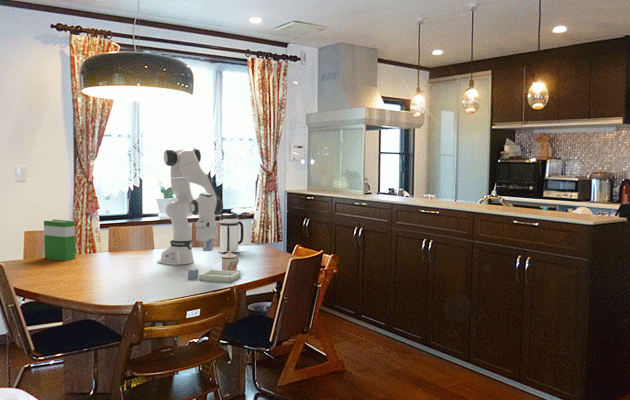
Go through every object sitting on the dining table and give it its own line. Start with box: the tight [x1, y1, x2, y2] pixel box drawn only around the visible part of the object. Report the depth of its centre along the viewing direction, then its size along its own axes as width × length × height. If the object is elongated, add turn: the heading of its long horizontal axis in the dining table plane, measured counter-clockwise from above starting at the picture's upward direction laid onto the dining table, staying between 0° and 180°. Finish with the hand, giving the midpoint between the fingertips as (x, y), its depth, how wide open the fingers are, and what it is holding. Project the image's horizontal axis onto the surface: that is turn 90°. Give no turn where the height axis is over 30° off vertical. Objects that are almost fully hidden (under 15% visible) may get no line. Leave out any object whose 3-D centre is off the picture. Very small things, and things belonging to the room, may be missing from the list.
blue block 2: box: [202, 240, 214, 252], centre depth 302 cm, size 4×4×5 cm
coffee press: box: [217, 209, 244, 254], centre depth 376 cm, size 17×16×30 cm
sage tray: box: [198, 269, 241, 284], centre depth 299 cm, size 18×14×3 cm
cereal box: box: [43, 219, 76, 262], centre depth 344 cm, size 18×7×24 cm, turn 68°
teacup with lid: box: [221, 251, 240, 272], centre depth 318 cm, size 12×9×12 cm
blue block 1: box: [187, 268, 199, 280], centre depth 298 cm, size 4×4×5 cm
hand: (207, 247), depth 302 cm, fingers closed on blue block 2, 4 cm apart
